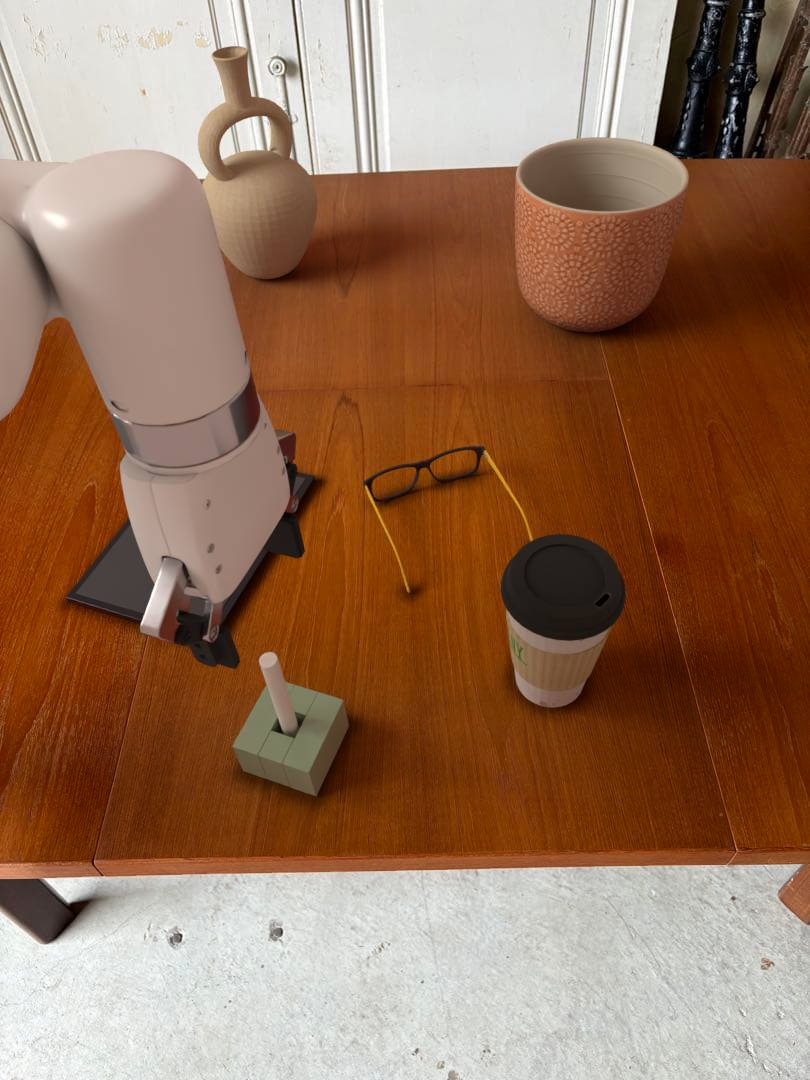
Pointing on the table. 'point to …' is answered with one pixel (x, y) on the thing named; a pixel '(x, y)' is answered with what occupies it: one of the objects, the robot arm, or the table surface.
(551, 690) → the coffee cup
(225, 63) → the vase
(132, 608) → the tablet
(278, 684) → the stylus
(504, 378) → the table surface
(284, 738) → the stylus holder
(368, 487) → the eyeglasses
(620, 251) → the planter
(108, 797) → the table surface
